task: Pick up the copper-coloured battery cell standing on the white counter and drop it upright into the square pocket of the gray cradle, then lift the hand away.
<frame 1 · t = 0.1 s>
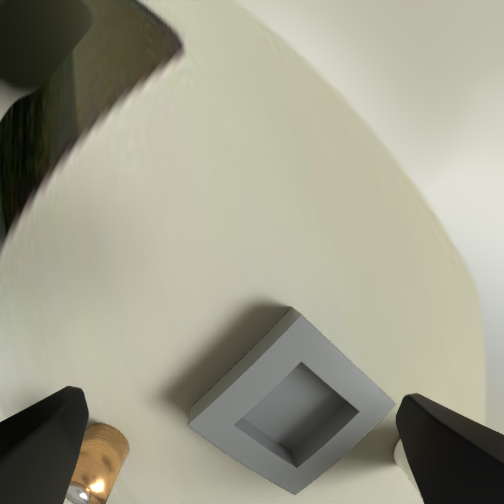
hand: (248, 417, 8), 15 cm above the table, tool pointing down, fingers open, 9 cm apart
battery cell: (107, 442, 22), on the table
drinking glass: (413, 442, 25), on the table
gray cradle: (291, 402, 23), on the table
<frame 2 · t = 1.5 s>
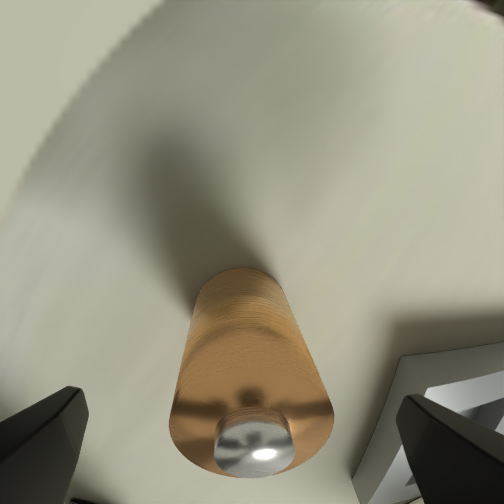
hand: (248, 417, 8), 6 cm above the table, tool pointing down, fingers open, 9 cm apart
battery cell: (241, 312, 14), on the table
gray cradle: (442, 416, 17), on the table
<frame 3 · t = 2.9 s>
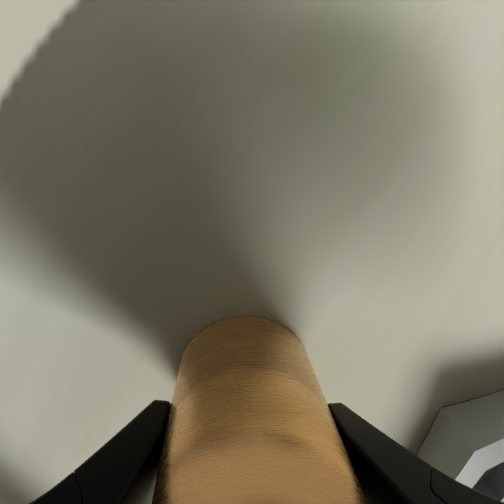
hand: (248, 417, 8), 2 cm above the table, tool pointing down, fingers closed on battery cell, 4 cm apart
battery cell: (244, 373, 10), on the table, touching gripper
gray cradle: (472, 458, 13), on the table
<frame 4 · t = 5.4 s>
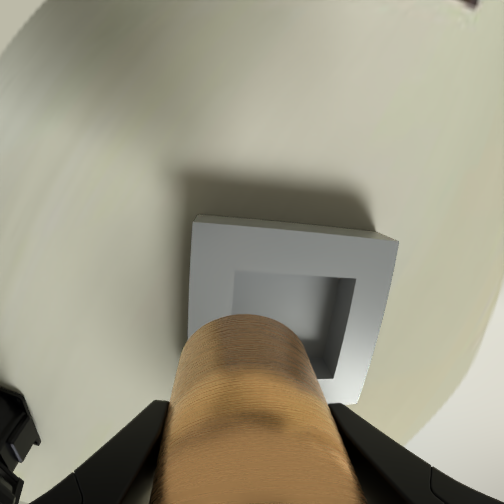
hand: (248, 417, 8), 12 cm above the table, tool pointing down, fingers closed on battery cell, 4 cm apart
battery cell: (243, 371, 10), point 10 cm above the table, touching gripper
gray cradle: (281, 309, 20), on the table
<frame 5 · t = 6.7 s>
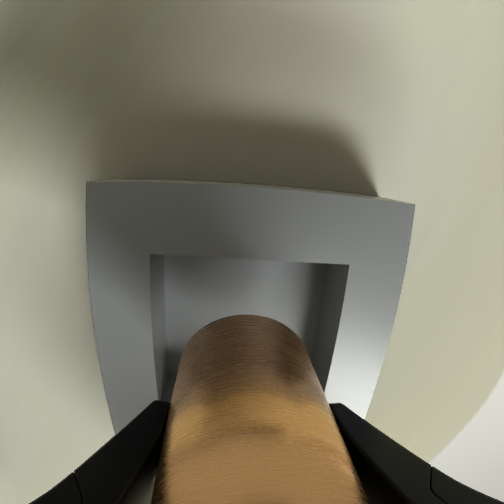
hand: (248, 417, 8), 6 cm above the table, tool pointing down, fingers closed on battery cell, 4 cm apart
battery cell: (244, 372, 10), point 4 cm above the table, touching gripper
gray cradle: (242, 314, 14), on the table
when the fingers open (4 cm above the table, at t = 7.9 s): battery cell drops 2 cm, resting on gray cradle.
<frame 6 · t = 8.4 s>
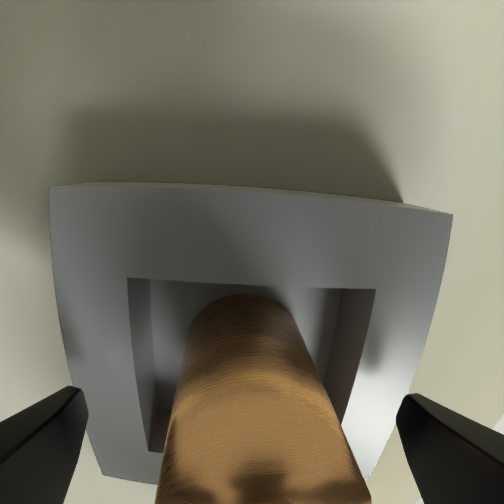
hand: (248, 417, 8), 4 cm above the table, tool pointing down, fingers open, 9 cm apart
battery cell: (243, 345, 11), point 1 cm above the table, touching gray cradle
gray cradle: (242, 340, 12), on the table
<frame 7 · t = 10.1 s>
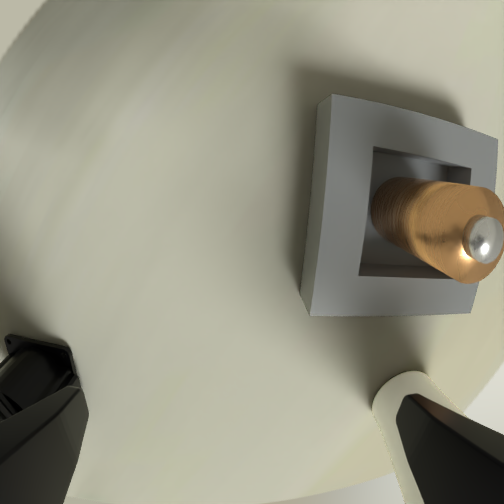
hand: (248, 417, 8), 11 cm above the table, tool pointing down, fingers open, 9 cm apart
battery cell: (400, 210, 18), resting on gray cradle
drinking glass: (399, 393, 22), on the table
gray cradle: (396, 210, 18), on the table
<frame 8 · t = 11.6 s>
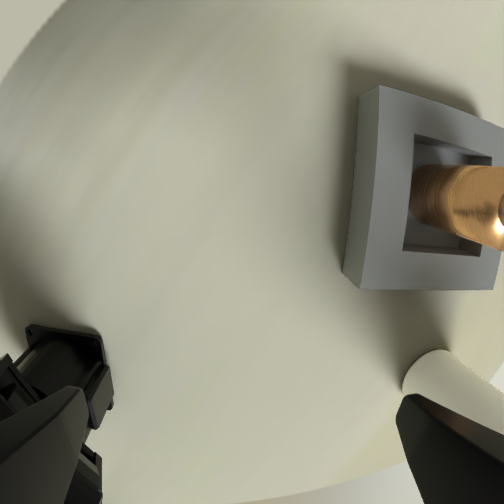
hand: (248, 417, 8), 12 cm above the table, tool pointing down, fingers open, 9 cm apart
battery cell: (430, 194, 18), resting on gray cradle
drinking glass: (425, 372, 23), on the table
gray cradle: (426, 195, 19), on the table
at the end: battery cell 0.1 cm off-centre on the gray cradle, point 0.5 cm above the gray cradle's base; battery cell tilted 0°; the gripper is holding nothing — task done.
